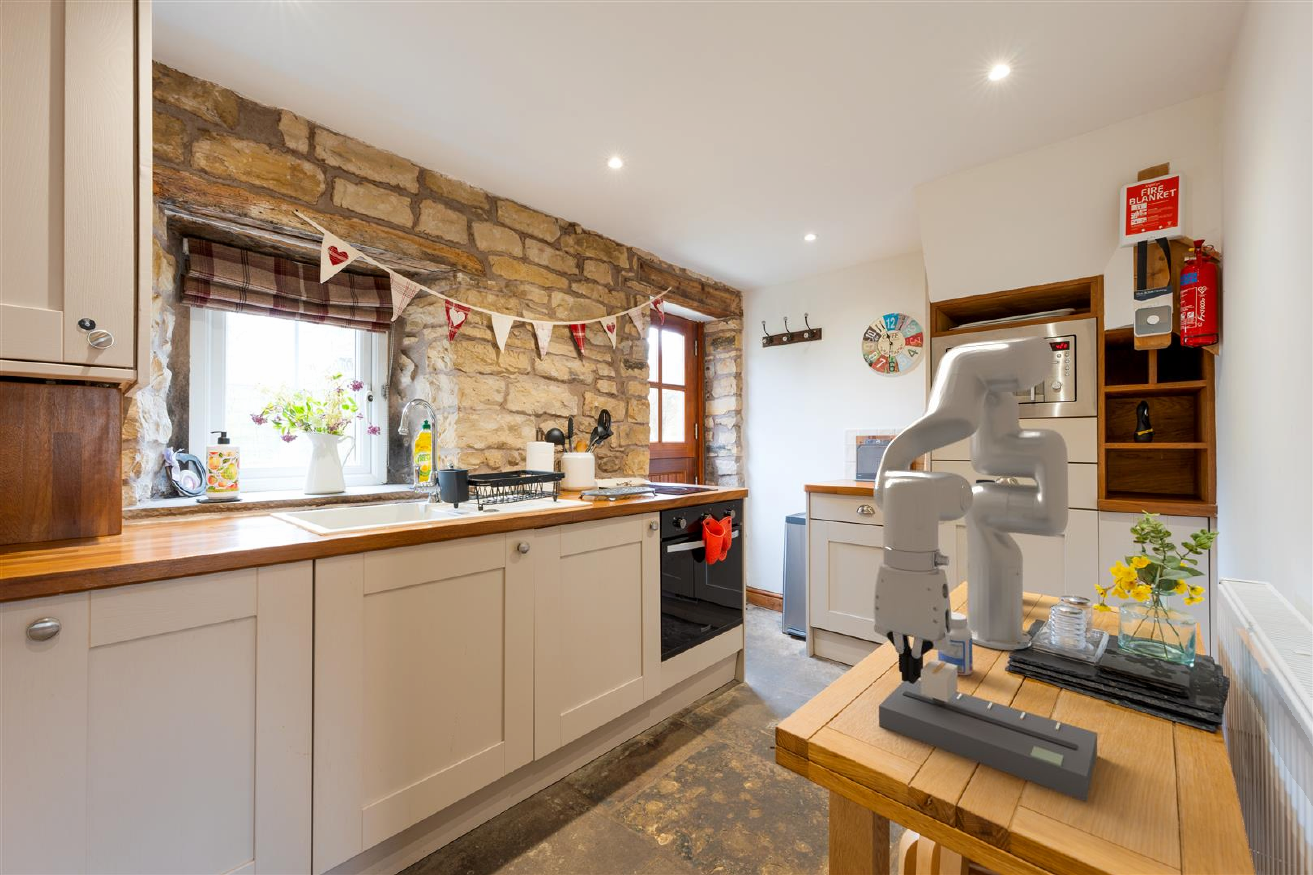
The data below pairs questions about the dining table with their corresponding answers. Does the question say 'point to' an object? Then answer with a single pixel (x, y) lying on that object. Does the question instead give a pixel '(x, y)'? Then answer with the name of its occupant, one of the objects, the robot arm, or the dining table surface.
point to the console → (996, 737)
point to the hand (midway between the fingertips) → (910, 678)
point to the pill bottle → (959, 645)
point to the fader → (939, 680)
